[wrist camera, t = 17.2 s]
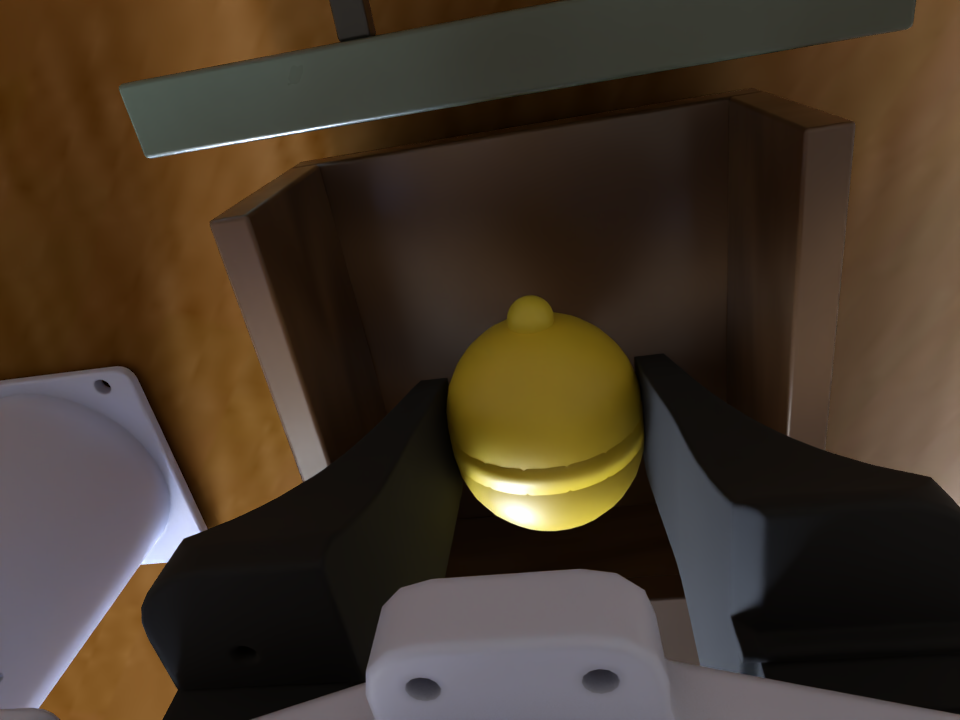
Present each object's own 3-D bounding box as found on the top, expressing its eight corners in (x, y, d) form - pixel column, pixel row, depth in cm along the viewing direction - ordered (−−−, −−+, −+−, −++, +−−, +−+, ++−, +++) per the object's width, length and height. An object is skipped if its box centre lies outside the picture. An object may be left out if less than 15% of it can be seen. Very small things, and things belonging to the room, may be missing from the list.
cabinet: (354, 439, 22) (278, 623, 15) (777, 396, 20) (898, 584, 13) (442, 727, 29) (416, 937, 22) (761, 715, 27) (835, 941, 20)
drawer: (155, -248, 13) (-80, -414, 8) (799, -418, 11) (1014, -763, 6) (387, 522, 22) (344, 671, 17) (762, 490, 20) (837, 646, 15)
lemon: (636, 462, 16) (665, 586, 13) (479, 476, 17) (465, 598, 13) (621, 248, 14) (652, 330, 10) (437, 273, 14) (407, 358, 11)
